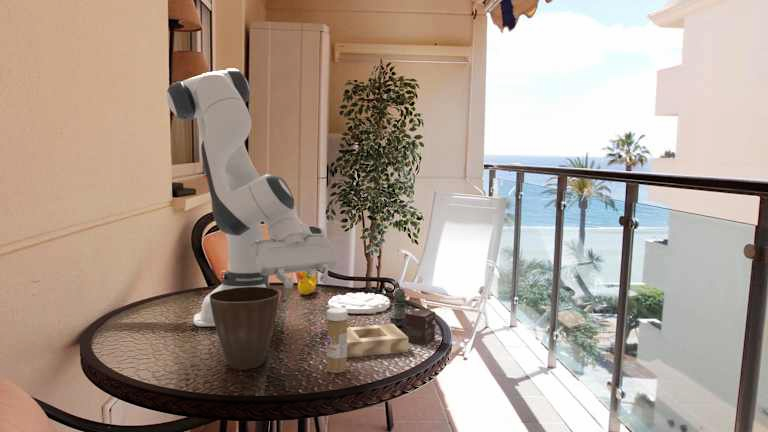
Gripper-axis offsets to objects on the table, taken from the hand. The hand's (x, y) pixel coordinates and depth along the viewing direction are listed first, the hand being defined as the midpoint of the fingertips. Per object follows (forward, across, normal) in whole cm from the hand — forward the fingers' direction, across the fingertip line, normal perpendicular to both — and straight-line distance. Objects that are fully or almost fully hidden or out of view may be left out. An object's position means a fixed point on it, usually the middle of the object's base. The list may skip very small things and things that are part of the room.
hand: (308, 284), depth 121 cm
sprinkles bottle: (+21, 0, +4) cm, 21 cm away
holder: (+14, +15, +10) cm, 23 cm away
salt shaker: (+9, +31, +16) cm, 36 cm away
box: (+17, +29, +8) cm, 34 cm away
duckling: (-28, +29, +52) cm, 66 cm away
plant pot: (+10, -14, +14) cm, 23 cm away
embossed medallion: (-9, +35, +34) cm, 50 cm away
